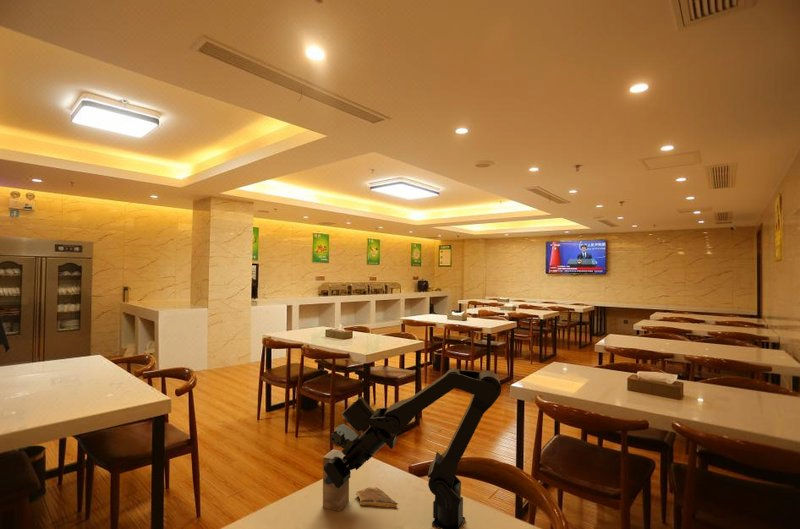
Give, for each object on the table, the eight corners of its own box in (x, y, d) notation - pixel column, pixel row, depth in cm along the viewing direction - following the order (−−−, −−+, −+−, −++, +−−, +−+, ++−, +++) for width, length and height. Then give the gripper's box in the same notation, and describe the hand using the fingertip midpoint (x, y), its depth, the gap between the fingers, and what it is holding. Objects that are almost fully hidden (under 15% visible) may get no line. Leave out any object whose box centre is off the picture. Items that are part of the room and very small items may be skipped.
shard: (397, 509, 103) (398, 502, 103) (373, 519, 98) (373, 512, 98) (375, 490, 112) (375, 484, 112) (352, 499, 107) (352, 492, 107)
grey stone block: (348, 500, 105) (349, 452, 106) (339, 511, 101) (339, 460, 101) (332, 496, 107) (333, 449, 108) (322, 506, 103) (323, 457, 103)
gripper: (366, 406, 112) (332, 439, 116) (331, 430, 95) (292, 467, 98) (391, 439, 109) (355, 471, 113) (359, 469, 91) (318, 506, 95)
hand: (331, 477), depth 105 cm, fingers closed on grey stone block, 5 cm apart
